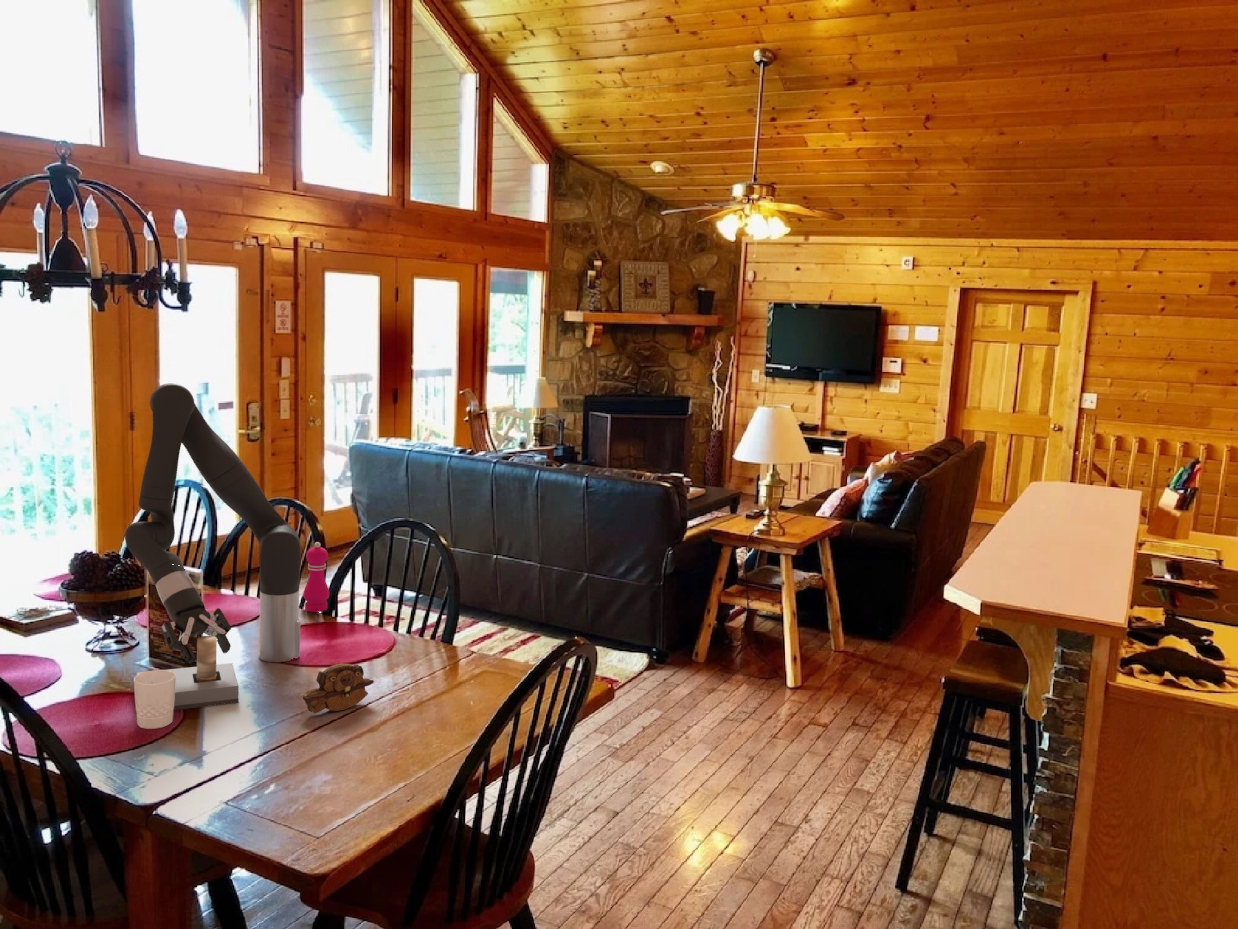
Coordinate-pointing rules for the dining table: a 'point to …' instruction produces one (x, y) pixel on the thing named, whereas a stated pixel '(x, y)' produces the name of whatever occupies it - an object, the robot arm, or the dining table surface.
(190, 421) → the robot arm
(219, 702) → the socket board
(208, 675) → the birch peg
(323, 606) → the pepper mill
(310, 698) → the wooden carving
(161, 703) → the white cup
